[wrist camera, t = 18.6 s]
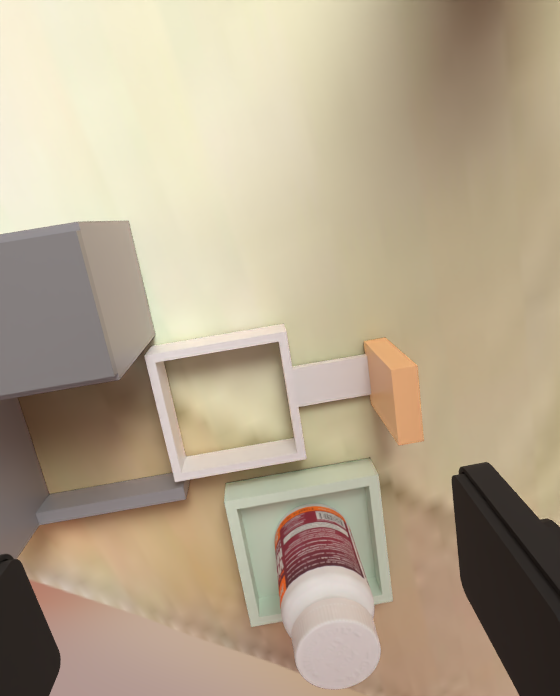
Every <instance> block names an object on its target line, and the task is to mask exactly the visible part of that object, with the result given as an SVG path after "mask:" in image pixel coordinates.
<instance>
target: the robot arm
mask: <svg viewBox="0 0 560 696" xmlns="http://www.w3.org/2000/svg"><path fill="white" fill-rule="evenodd" d="M452 490H453V501H454V512H455V523H456V534H457V545H458V556H459V567H460V577H461V582H462V586H463V589H464V591H465V594H466V596H467V598H468V600H469V602H470V604H471V605H472V607H473V609H474V611H475V613H476V615H477V617H478V619H479V620H480V622H481V624H482V626H483V628H484V630H485V632H486V633H487V635H488V637H489V639H490V641H491V643H492V645H493V647H494V648H495V650H496V652H497V654H498V656H499V658H500V660H501V662H502V663H503V665H504V667H505V669H506V671H507V673H508V675H509V677H510V678H511V680H512V682H513V684H514V686H515V688H516V690H517V692H518V693H519V695H520V696H560V527H559V526H558V525H557V524H556V523H555V522H553V521H552V520H550V519H542V520H540V519H539V518H538V517H537V516H536V515H535V514H534V512H533V511H532V510H531V509H530V508H529V507H528V506H527V505H526V504H525V502H524V501H523V500H522V499H521V498H520V497H519V496H518V495H517V493H516V492H515V491H514V490H513V489H512V488H511V487H510V486H509V484H508V483H507V482H506V481H505V480H504V479H503V478H502V477H501V476H500V474H499V473H498V472H497V471H496V470H495V469H494V468H493V467H492V465H491V464H489V463H488V462H484V463H479V464H473V465H468V466H463V467H460V469H459V475H454V476H452ZM59 669H60V653H59V650H58V647H57V645H56V643H55V640H54V638H53V636H52V633H51V631H50V629H49V626H48V624H47V622H46V619H45V617H44V615H43V612H42V610H41V608H40V605H39V603H38V601H37V598H36V596H35V593H34V591H33V589H32V586H31V584H30V582H29V579H28V577H27V575H26V572H25V570H24V568H23V565H22V563H21V562H20V561H19V560H18V559H14V558H13V557H12V556H11V555H10V554H1V555H0V696H49V694H50V692H51V689H52V687H53V685H54V682H55V680H56V677H57V675H58V672H59Z"/></svg>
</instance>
